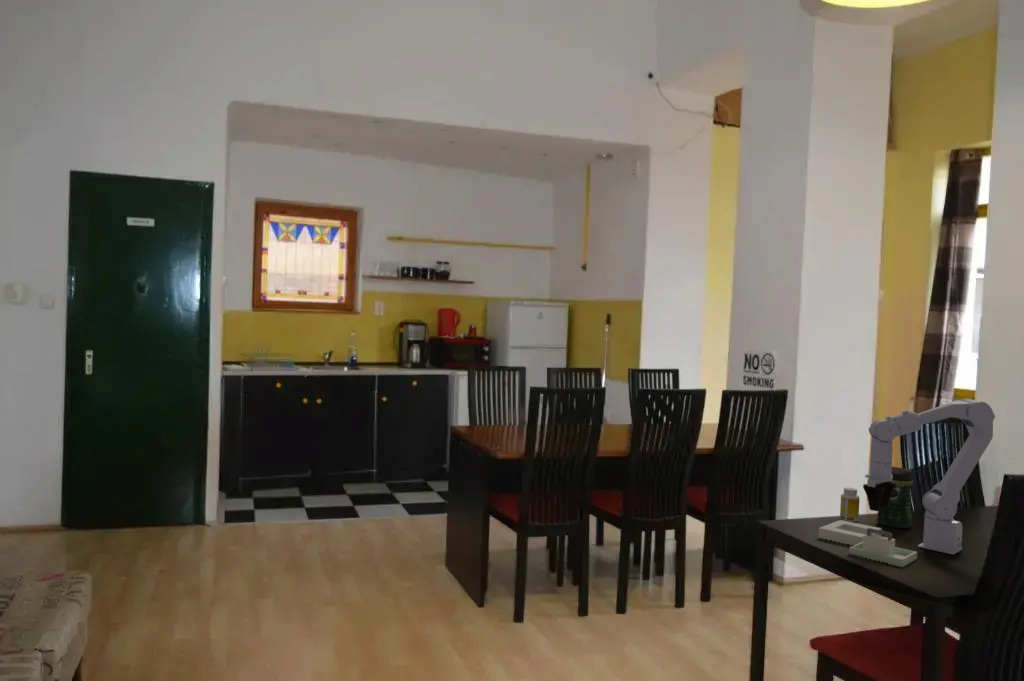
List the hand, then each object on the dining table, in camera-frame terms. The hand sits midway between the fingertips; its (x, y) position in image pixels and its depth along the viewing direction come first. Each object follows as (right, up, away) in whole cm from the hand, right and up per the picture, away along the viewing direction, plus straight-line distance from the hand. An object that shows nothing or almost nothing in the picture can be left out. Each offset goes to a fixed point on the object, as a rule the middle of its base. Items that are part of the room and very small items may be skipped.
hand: (878, 508), depth 233 cm
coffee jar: (+15, -10, +23) cm, 29 cm away
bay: (-5, -10, +5) cm, 12 cm away
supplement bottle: (+3, -10, +28) cm, 29 cm away
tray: (-5, -11, -13) cm, 17 cm away
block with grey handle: (-6, -10, -12) cm, 17 cm away
